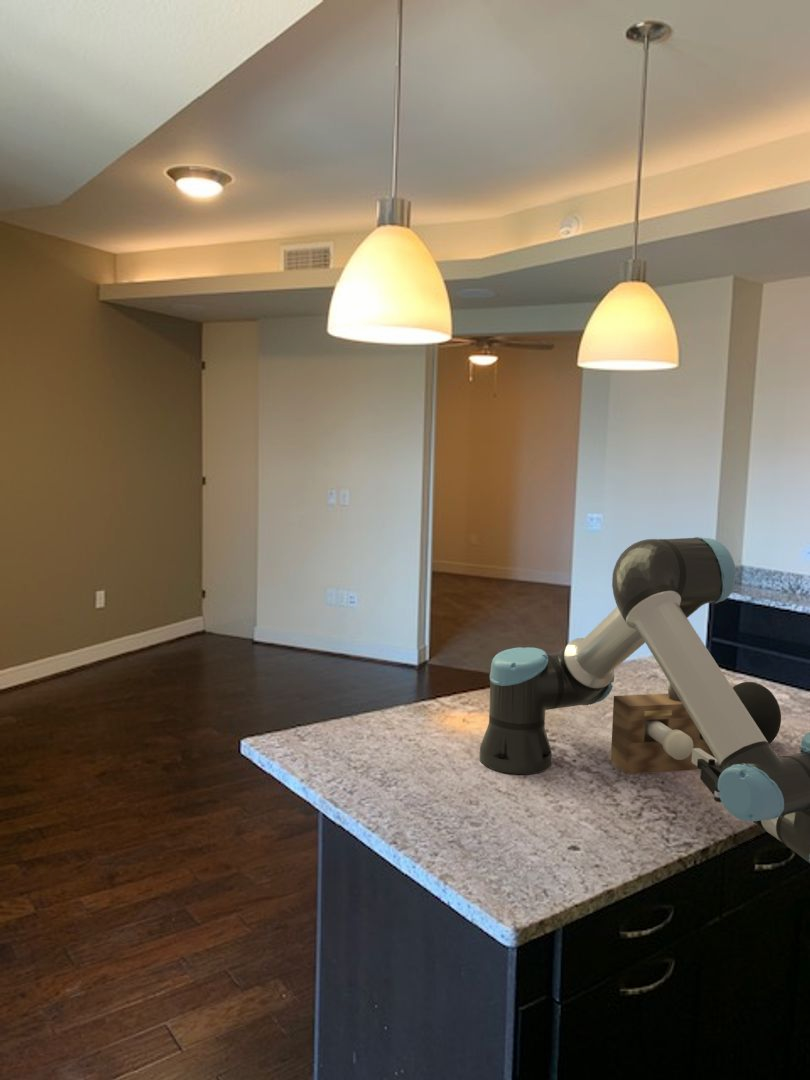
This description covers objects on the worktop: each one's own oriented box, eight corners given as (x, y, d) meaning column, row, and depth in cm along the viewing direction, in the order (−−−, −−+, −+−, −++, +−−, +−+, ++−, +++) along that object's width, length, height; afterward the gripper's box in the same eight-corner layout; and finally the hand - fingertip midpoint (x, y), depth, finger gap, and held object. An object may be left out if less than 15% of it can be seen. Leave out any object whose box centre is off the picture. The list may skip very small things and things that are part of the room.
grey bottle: (673, 701, 161) (675, 668, 161) (665, 696, 164) (667, 664, 164) (687, 700, 162) (690, 667, 161) (679, 696, 165) (681, 663, 164)
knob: (667, 760, 150) (669, 734, 149) (630, 732, 165) (631, 708, 164) (692, 759, 151) (694, 733, 150) (652, 731, 166) (654, 707, 165)
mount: (626, 774, 159) (630, 706, 157) (610, 760, 166) (613, 695, 164) (736, 768, 163) (741, 702, 162) (716, 754, 171) (720, 691, 169)
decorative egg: (766, 762, 167) (771, 694, 165) (709, 747, 175) (714, 682, 174) (786, 748, 176) (791, 683, 174) (731, 734, 184) (735, 672, 182)
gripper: (740, 837, 122) (662, 776, 145) (813, 831, 125) (725, 772, 148) (743, 791, 122) (664, 737, 145) (816, 786, 124) (727, 734, 147)
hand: (695, 755), depth 146 cm, fingers closed
